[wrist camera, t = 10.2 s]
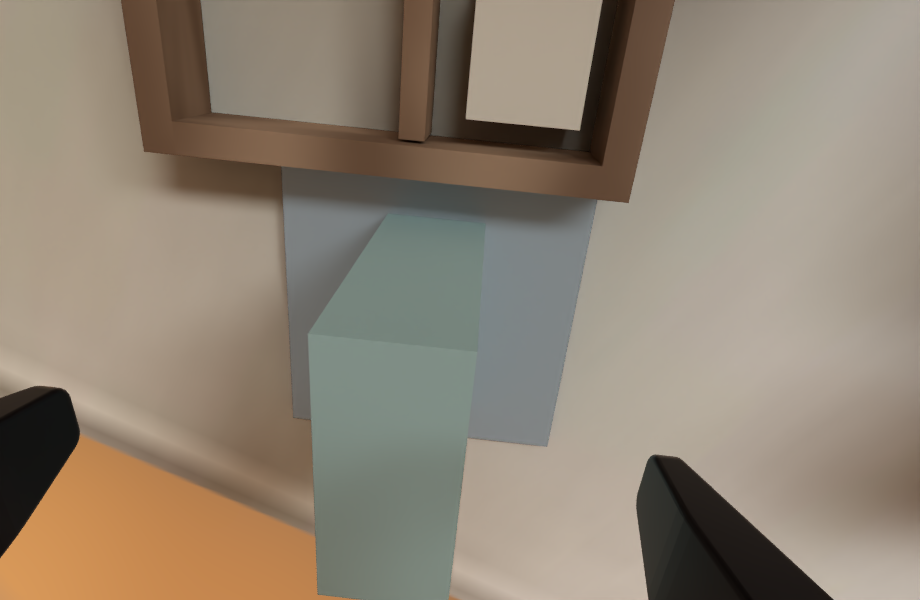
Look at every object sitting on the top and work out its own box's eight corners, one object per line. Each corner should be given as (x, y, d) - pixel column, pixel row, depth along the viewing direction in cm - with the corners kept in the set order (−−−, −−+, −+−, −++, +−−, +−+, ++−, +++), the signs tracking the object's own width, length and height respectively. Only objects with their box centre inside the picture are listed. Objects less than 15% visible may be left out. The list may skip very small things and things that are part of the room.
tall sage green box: (485, 223, 19) (477, 351, 11) (465, 407, 23) (447, 609, 14) (387, 213, 19) (307, 334, 11) (382, 398, 23) (317, 594, 15)
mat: (596, 191, 19) (598, 193, 19) (546, 440, 24) (547, 446, 23) (285, 158, 19) (281, 160, 19) (296, 412, 24) (293, 417, 23)
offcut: (592, -16, 17) (607, -26, 14) (569, 120, 18) (579, 130, 16) (481, -27, 17) (479, -38, 14) (469, 110, 18) (465, 119, 16)
